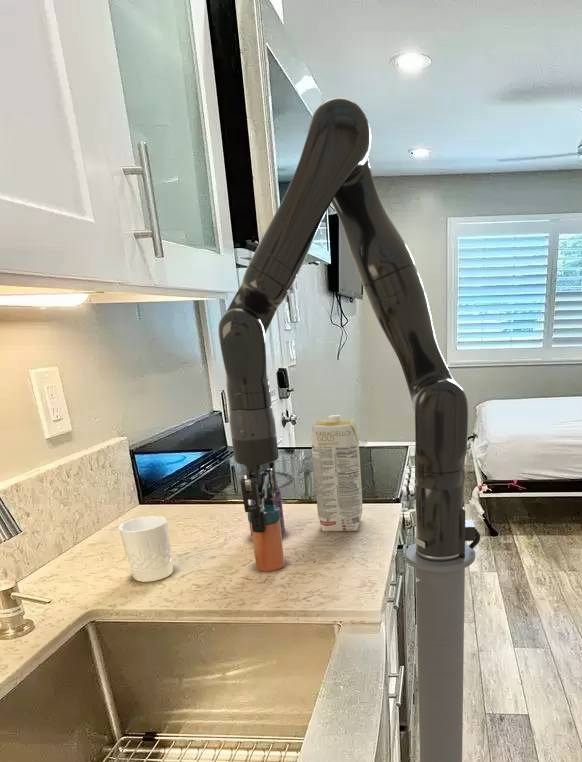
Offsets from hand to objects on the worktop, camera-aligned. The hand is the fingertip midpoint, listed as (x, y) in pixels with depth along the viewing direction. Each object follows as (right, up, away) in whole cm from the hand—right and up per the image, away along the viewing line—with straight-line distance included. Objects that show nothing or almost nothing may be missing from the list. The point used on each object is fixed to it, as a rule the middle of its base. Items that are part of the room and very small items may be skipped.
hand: (264, 524), depth 104 cm
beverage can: (-3, -2, +17) cm, 18 cm away
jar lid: (0, +2, -1) cm, 2 cm away
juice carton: (+12, 0, +21) cm, 24 cm away
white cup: (-21, -9, +1) cm, 23 cm away
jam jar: (0, -8, +3) cm, 8 cm away
